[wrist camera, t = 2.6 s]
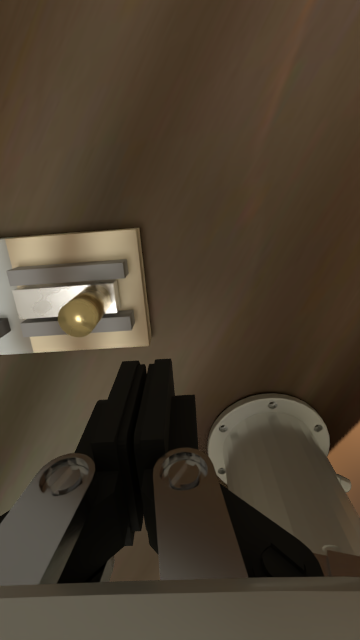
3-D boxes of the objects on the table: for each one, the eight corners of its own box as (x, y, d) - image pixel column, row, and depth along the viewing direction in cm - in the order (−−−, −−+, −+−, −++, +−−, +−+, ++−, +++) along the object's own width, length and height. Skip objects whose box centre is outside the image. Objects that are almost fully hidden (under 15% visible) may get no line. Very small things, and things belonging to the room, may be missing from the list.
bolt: (117, 279, 26) (96, 300, 20) (120, 306, 27) (102, 335, 21) (21, 285, 26) (-27, 309, 20) (28, 312, 27) (-17, 343, 21)
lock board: (139, 227, 26) (132, 230, 23) (151, 337, 30) (146, 354, 26) (-101, 245, 27) (-144, 251, 24) (-63, 350, 31) (-96, 369, 27)
